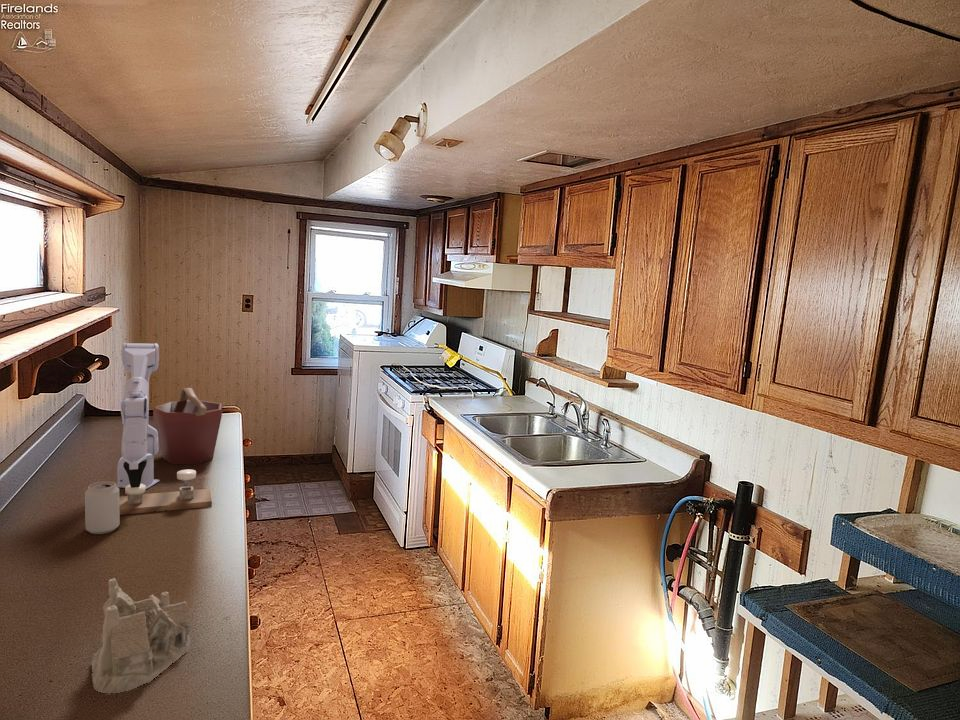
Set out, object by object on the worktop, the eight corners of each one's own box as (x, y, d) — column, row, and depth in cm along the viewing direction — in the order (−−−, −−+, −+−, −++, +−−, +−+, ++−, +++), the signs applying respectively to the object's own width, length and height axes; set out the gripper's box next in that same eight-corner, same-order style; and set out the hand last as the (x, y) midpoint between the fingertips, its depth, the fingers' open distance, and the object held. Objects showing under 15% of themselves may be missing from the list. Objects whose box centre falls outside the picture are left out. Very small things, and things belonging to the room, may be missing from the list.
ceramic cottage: (83, 700, 97) (90, 608, 96) (95, 646, 111) (101, 565, 110) (192, 683, 104) (199, 597, 103) (190, 634, 118) (196, 558, 117)
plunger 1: (124, 504, 170) (124, 490, 169) (125, 498, 174) (125, 484, 174) (145, 502, 172) (145, 488, 172) (145, 496, 177) (145, 482, 176)
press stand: (106, 516, 166) (106, 501, 165) (110, 501, 175) (110, 488, 175) (211, 506, 177) (211, 492, 177) (209, 493, 187) (209, 480, 186)
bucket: (220, 466, 213) (221, 395, 210) (148, 469, 205) (148, 396, 202) (221, 447, 235) (222, 382, 232) (157, 449, 227) (157, 382, 224)
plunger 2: (176, 489, 175) (177, 475, 175) (176, 483, 180) (177, 470, 179) (196, 487, 177) (196, 474, 177) (195, 482, 182) (195, 468, 181)
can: (126, 527, 160) (126, 482, 158) (100, 537, 153) (99, 491, 151) (105, 521, 162) (104, 477, 161) (78, 531, 155) (77, 486, 154)
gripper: (150, 445, 166) (150, 494, 168) (152, 432, 179) (152, 477, 181) (120, 447, 163) (120, 496, 165) (124, 433, 176) (124, 479, 178)
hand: (135, 486), depth 173 cm, fingers closed, pressing on plunger 1
